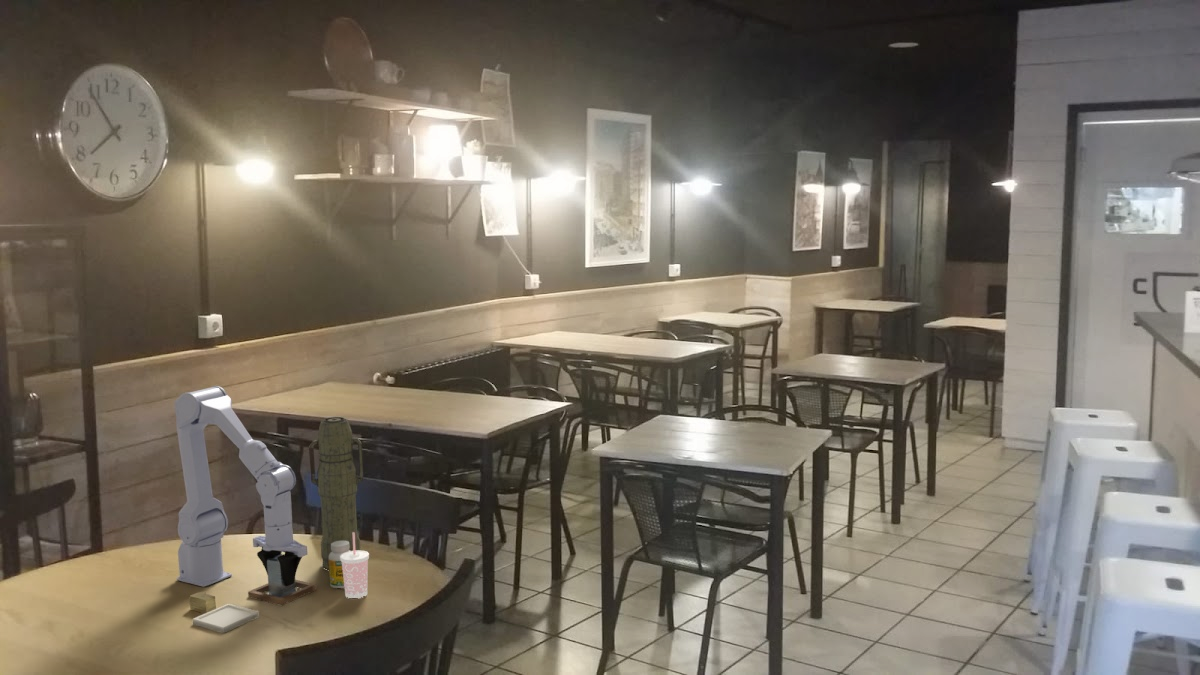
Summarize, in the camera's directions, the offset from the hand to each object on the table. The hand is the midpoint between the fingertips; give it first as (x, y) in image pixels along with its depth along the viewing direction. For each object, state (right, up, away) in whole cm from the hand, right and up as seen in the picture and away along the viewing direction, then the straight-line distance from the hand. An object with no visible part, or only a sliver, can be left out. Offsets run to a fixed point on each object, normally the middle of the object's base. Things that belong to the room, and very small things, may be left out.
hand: (281, 582), depth 223 cm
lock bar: (-14, -4, -8) cm, 17 cm away
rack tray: (-7, -4, -14) cm, 16 cm away
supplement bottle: (+12, -2, +5) cm, 13 cm away
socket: (0, -2, 0) cm, 2 cm away
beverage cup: (+17, -3, -1) cm, 17 cm away
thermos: (+9, 0, +17) cm, 19 cm away
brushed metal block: (0, -2, 0) cm, 2 cm away
